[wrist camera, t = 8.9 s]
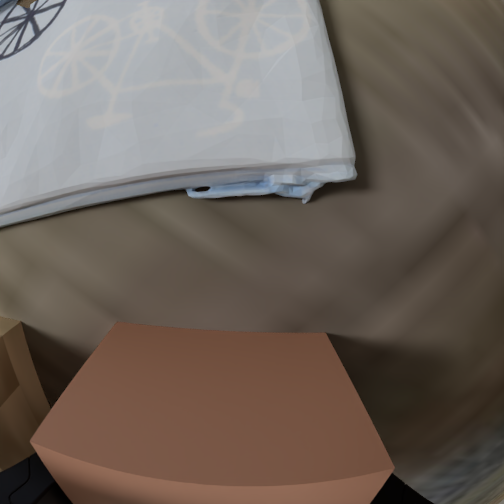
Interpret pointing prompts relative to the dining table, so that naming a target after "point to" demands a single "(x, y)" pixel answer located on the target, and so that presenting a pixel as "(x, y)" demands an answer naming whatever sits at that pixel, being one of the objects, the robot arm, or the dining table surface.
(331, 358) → the rust block
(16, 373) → the oak block
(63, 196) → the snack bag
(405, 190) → the dining table surface
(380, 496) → the robot arm
